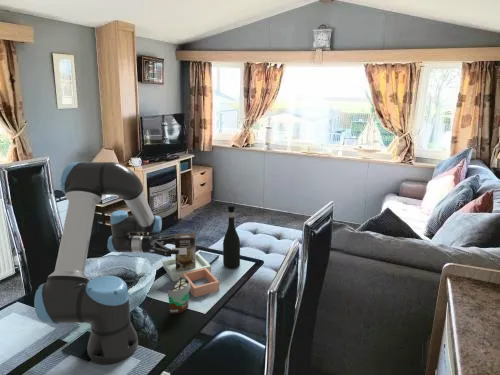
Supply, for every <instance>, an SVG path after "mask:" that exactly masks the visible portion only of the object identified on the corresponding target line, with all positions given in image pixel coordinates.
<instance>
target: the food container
mask: <svg viewBox="0 0 500 375" xmlns="http://www.w3.org/2000/svg"><path fill="white" fill-rule="evenodd" d="M190 288H191V285H190V282H189V280H188V279H187V278H185V277H182V276H180V279H179V280H177V281H176V282H175V283H174V284H173V286H172V287H171V289H170V290H167V298H168V305H169V313H170V314H173V315H174V314H176V315H177V314H180V313H183V312H184V311H186V310H187V309H188V308H189V296H190V294H189V293H190V291H189V290H190Z"/></svg>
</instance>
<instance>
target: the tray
mask: <svg viewBox="0 0 500 375" xmlns="http://www.w3.org/2000/svg"><path fill="white" fill-rule="evenodd" d="M195 254H196V268H195V269H191V270H187V271H176V257H173V258H169V259H164V260H162V268H163V269H164V270H165V271H166V273H167V275H168V276H169V277H170V279H171V280H172V282H177V281H178V280H179V279H180V276H182V277H183V273H187V272H191V271H195V270H200V269H204V268H207V269H208V270H209V271H210V273H212V264H210V263H209V262H208V261H207V260H206V259H205V258H204V257H203V256H202V255H201V254H200V253H199V252H195ZM176 280H177V281H176Z"/></svg>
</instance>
